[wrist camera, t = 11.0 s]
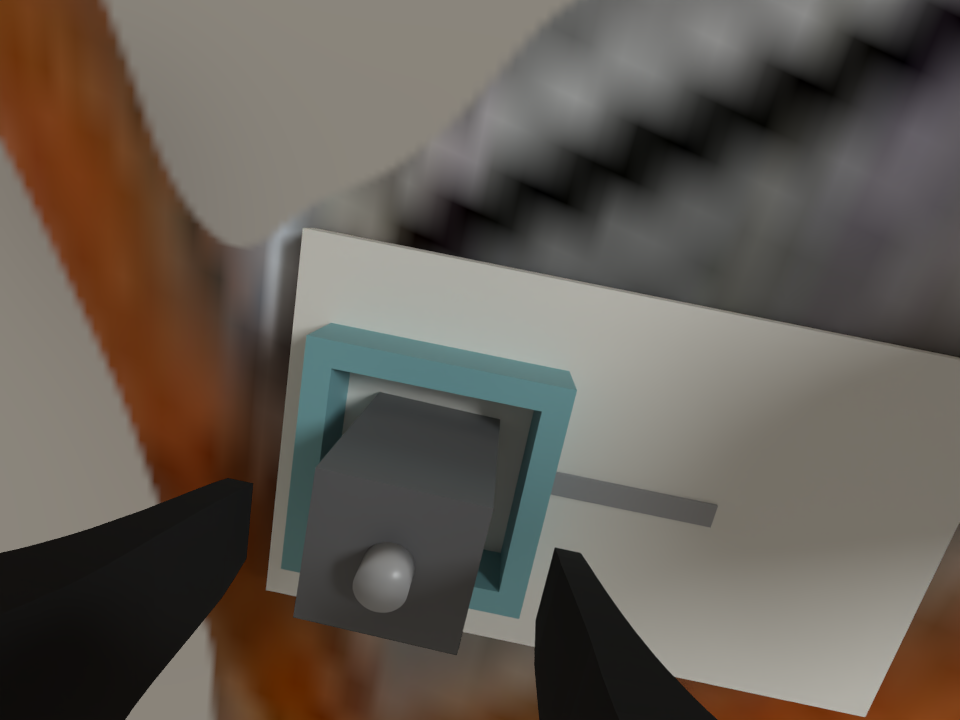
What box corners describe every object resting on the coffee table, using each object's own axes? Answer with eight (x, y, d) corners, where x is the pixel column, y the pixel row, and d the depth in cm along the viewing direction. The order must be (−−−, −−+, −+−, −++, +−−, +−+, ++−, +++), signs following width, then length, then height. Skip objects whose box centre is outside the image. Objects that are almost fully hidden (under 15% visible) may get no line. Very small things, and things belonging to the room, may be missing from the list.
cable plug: (500, 419, 17) (492, 528, 10) (474, 526, 18) (453, 683, 11) (379, 391, 17) (300, 484, 10) (360, 500, 18) (278, 642, 12)
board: (1000, 365, 16) (1107, 395, 13) (847, 692, 19) (906, 774, 16) (315, 228, 16) (273, 227, 14) (278, 572, 20) (237, 631, 17)
